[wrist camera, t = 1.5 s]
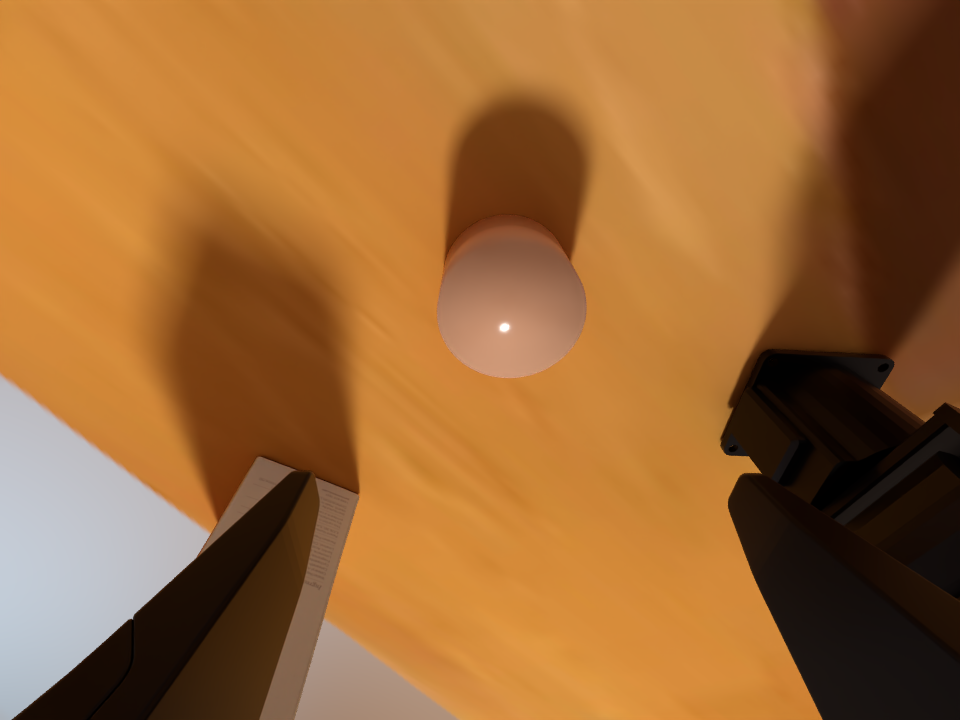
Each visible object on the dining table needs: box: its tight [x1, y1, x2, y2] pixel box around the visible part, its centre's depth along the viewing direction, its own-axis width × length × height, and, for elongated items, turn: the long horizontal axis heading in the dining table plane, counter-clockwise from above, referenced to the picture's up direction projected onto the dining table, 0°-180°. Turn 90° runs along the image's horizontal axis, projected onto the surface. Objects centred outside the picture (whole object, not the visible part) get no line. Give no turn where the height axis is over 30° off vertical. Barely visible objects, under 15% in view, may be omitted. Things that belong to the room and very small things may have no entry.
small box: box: [197, 457, 359, 720], centre depth 22 cm, size 8×6×13 cm
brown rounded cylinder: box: [437, 215, 586, 378], centre depth 18 cm, size 6×6×4 cm
